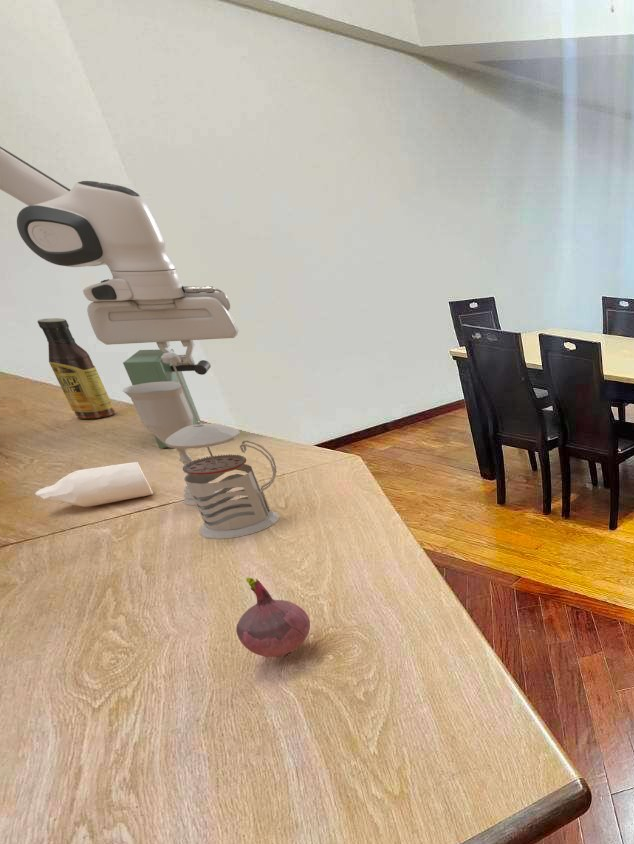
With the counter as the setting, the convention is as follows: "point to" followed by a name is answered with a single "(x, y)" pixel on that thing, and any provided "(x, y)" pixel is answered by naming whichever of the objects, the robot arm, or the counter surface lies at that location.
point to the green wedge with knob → (161, 374)
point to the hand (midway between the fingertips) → (185, 365)
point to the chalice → (164, 414)
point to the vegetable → (272, 625)
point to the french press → (222, 515)
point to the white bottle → (99, 485)
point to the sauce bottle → (75, 371)
